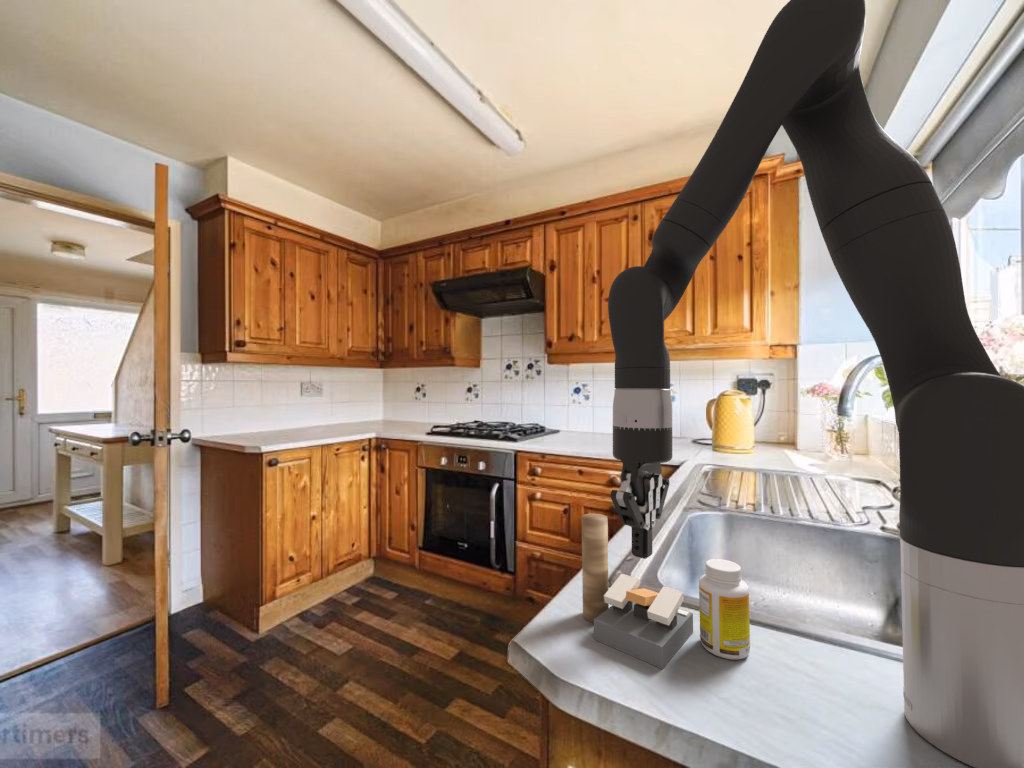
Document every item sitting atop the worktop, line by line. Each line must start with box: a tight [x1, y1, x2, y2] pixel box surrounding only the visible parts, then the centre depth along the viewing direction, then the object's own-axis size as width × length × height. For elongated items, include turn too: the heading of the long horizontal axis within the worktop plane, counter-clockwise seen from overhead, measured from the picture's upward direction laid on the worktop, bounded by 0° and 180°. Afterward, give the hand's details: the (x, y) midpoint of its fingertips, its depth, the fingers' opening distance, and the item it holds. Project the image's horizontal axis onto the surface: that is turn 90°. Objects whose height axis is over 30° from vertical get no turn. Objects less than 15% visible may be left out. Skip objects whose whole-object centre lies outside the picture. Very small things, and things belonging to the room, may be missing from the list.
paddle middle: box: [626, 587, 659, 607], centre depth 56 cm, size 3×5×2 cm, turn 138°
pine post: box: [581, 513, 610, 624], centre depth 60 cm, size 4×4×14 cm
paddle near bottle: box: [647, 585, 685, 626], centre depth 54 cm, size 3×5×2 cm, turn 138°
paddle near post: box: [604, 573, 641, 609], centre depth 58 cm, size 3×5×1 cm, turn 138°
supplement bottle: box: [698, 558, 751, 660], centre depth 53 cm, size 6×6×10 cm
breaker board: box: [593, 601, 694, 670], centre depth 56 cm, size 9×10×4 cm
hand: (642, 555), depth 56 cm, fingers closed
